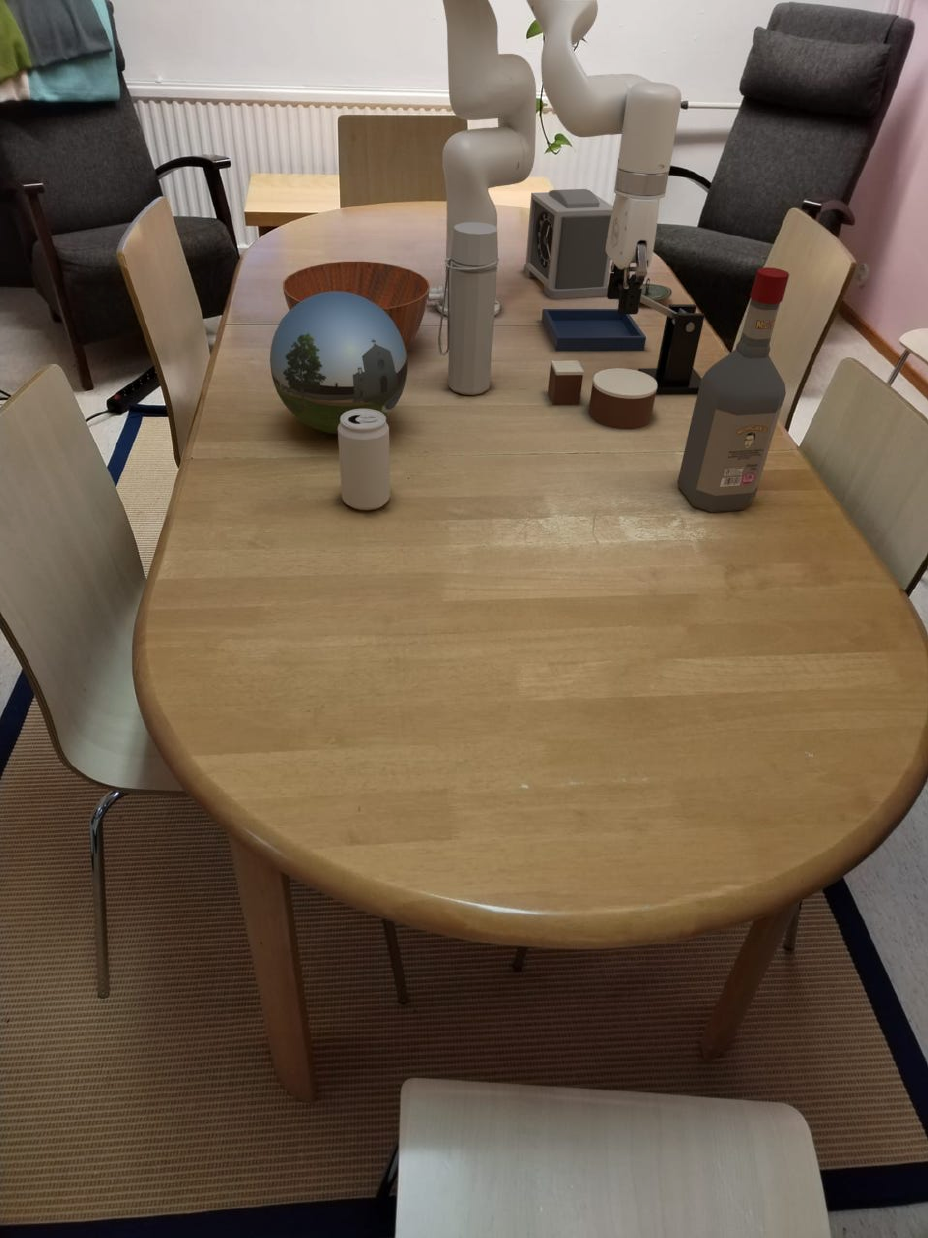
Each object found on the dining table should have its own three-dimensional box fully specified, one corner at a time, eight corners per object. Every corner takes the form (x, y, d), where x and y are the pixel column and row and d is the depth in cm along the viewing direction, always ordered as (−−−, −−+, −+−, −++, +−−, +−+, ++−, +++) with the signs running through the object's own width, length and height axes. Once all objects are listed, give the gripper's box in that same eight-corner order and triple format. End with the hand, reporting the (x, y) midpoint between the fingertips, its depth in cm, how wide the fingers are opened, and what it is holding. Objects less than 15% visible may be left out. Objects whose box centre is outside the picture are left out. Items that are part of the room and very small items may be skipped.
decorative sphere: (428, 444, 125) (430, 309, 112) (301, 470, 118) (287, 329, 105) (379, 391, 138) (375, 265, 126) (261, 411, 131) (245, 279, 118)
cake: (596, 429, 131) (601, 395, 127) (582, 400, 139) (586, 368, 135) (658, 428, 132) (665, 394, 129) (641, 400, 140) (647, 367, 136)
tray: (556, 351, 154) (557, 337, 153) (541, 321, 165) (542, 308, 164) (643, 350, 156) (646, 337, 155) (623, 321, 167) (625, 308, 166)
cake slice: (552, 404, 137) (556, 371, 134) (547, 392, 140) (551, 360, 137) (579, 404, 138) (583, 371, 134) (573, 392, 141) (577, 360, 137)
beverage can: (342, 488, 115) (337, 406, 107) (390, 487, 115) (388, 406, 108) (341, 513, 110) (335, 429, 102) (390, 513, 110) (389, 429, 103)
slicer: (649, 394, 141) (664, 318, 133) (636, 374, 148) (650, 300, 139) (707, 393, 143) (724, 318, 134) (691, 374, 149) (708, 300, 140)
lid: (674, 314, 175) (684, 290, 173) (634, 306, 171) (644, 280, 169) (649, 299, 183) (658, 276, 181) (611, 291, 179) (620, 266, 176)
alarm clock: (522, 270, 189) (529, 180, 177) (576, 267, 192) (587, 179, 180) (551, 299, 175) (560, 203, 164) (609, 295, 179) (623, 201, 167)
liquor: (759, 509, 115) (829, 284, 95) (697, 515, 113) (755, 286, 94) (729, 476, 121) (789, 258, 102) (670, 480, 120) (719, 260, 101)
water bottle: (496, 382, 143) (507, 224, 127) (482, 400, 137) (491, 238, 121) (445, 373, 145) (449, 216, 129) (429, 391, 139) (431, 230, 123)
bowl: (454, 362, 149) (457, 296, 141) (323, 389, 138) (318, 320, 131) (390, 315, 165) (388, 254, 157) (267, 336, 154) (260, 272, 147)
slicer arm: (621, 301, 132) (629, 287, 130) (612, 288, 136) (620, 274, 135) (692, 337, 137) (701, 324, 136) (681, 323, 141) (689, 310, 140)
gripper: (602, 168, 130) (586, 287, 141) (631, 197, 117) (612, 326, 128) (649, 169, 131) (630, 287, 142) (683, 197, 118) (660, 325, 129)
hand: (621, 304), depth 135 cm, fingers closed on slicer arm, 6 cm apart
